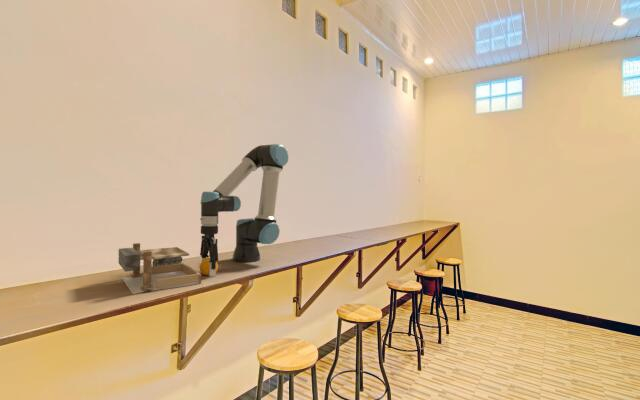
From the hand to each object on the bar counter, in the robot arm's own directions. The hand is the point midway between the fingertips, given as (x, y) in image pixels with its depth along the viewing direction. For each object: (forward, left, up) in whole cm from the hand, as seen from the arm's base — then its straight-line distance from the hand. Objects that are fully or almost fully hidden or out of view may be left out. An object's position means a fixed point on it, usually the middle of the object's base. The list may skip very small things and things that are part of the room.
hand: (208, 273), depth 154 cm
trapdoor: (+23, +1, +8) cm, 25 cm away
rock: (+13, -20, 0) cm, 24 cm away
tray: (+21, +1, 0) cm, 21 cm away
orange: (0, 0, 0) cm, 1 cm away
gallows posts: (+28, +1, 0) cm, 28 cm away
